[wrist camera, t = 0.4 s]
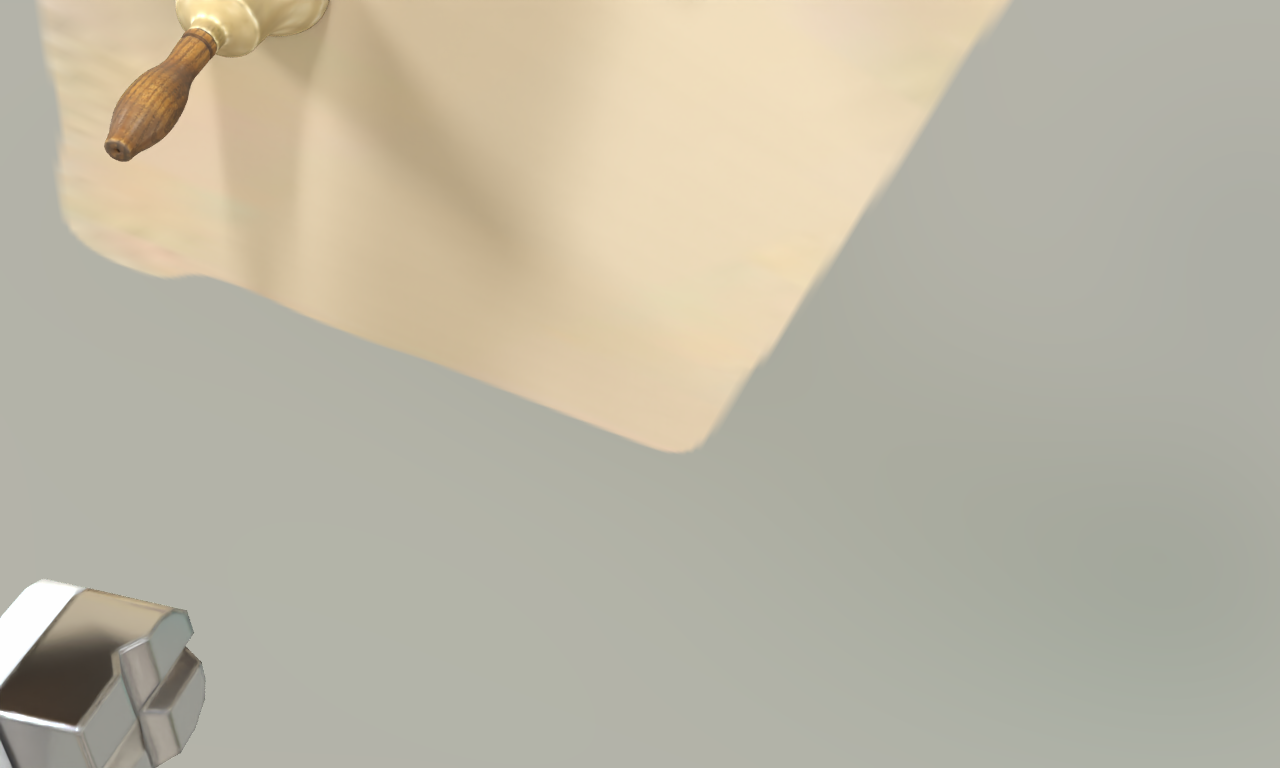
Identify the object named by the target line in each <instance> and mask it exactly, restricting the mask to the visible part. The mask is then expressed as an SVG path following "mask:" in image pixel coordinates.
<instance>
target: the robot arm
mask: <svg viewBox="0 0 1280 768" xmlns="http://www.w3.org/2000/svg"><path fill="white" fill-rule="evenodd" d="M193 633H194V632H193V628H192V625H191V622H190V619H189V616H188V612H187V610H183V609H178V608H174V607H170V606H165V605H161V604H156V603H152V602H147V601H143V600H138V599H134V598H130V597H125V596H121V595H116V594H111V593H107V592H103V591H99V590H94V589H91V588H86V587H81V586H76V585H71V584H67V583H62V582H57V581H52V580H47V579H42V580H40V581H38V582H36V583H35V584H33V585H31V586H29V587H27V588H26V589H25V590H24V591H23V592H22V593H21V594H20V596H19V597H18V598H17V599H16V600H15V601H14V602H13V604H12V605H11V606H10V607H9V608H8V609H7V610H6V611H5V613H4V614H3V615H2V616H1V617H0V768H156V767H158V766H159V765H161V764H163V763H164V762H166V761H168V760H169V759H171V758H172V757H174V756H176V755H178V754H179V753H181V751H182V750H183V748H184V747H185V745H186V743H187V741H188V740H189V738H190V736H191V735H192V733H193V731H194V730H195V728H196V725H197V722H198V718H199V715H200V712H201V709H202V706H203V703H204V699H205V675H204V671H203V666H202V662H201V661H200V660H199V659H198V658H197V657H196V656H195V655H194V654H193V653H191V651H190V650H189V649H188V648H187V647H186V644H187V643H188V641H189V639H190V638H191V636H192V635H193Z"/></svg>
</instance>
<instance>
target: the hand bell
mask: <svg viewBox="0 0 1280 768" xmlns="http://www.w3.org/2000/svg"><path fill="white" fill-rule="evenodd" d="M328 3H329V0H176V13H177V16H178V19H179V22H180V24H181V26H182V28H183V29H184V30H185V33H184V34H183V36H182V38H181V39H180V40H179V42H178V43H177V44H176V46H175V47H174V49H173V51H172V52H171V54H170V55H169V56H168V58H167V59H166V60H165V61H164V62H162V63H161V64H160V65H158V66H156V67H154V68H152V69H150V70H148V71H147V72H145V73H144V74H142V75H141V76H140V77H139V78H138V79H136V80H135V81H134V82H133V83H132V84H131V85H130V86H129V87H128V89H127V90H126V91H125V92H124V94H123V95H122V96H121V98H120V100H119V101H118V103H117V105H116V107H115V109H114V112H113V116H112V120H111V125H110V130H109V134H108V136H107V139H106V141H105V145H104V147H105V150H106V152H107V153H108V154H109V155H110V156H111V157H112V158H113V159H116V160H118V161H122V162H125V161H129V160H131V159H132V158H133V157H134V156H135V155H137V154H138V153H140V152H141V151H143V150H146V149H148V148H150V147H151V146H153V145H155V144H156V143H158V142H159V141H161V140H162V139H163V138H164V137H165V136H166V135H167V134H168V133H169V132H170V131H171V130H172V128H173V127H174V125H175V124H176V123H177V121H178V119H179V117H180V116H181V114H182V112H183V110H184V108H185V105H186V103H187V100H188V95H189V90H190V86H191V83H192V81H193V80H194V78H195V77H196V76H197V75H198V73H199V72H200V71H201V70H202V69H203V67H204V66H205V65H206V64H207V63H208V61H209V60H210V59H211V58H212V57H213V56H214V55H215V54H216V55H220V56H224V57H240V56H244V55H247V54H248V53H250V52H252V51H253V50H254V49H255V48H256V47H257V46H258V45H259V44H260V43H261V42H262V41H263V40H264V39H265V38H266V37H267V36H288V35H294V34H297V33H300V32H303V31H305V30H307V29H309V28H311V27H312V26H313V25H315V24H316V23H317V22H318V21H319V20H320V19H321V17H322V16H323V14H324V13H325V11H326V8H327V6H328Z"/></svg>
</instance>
